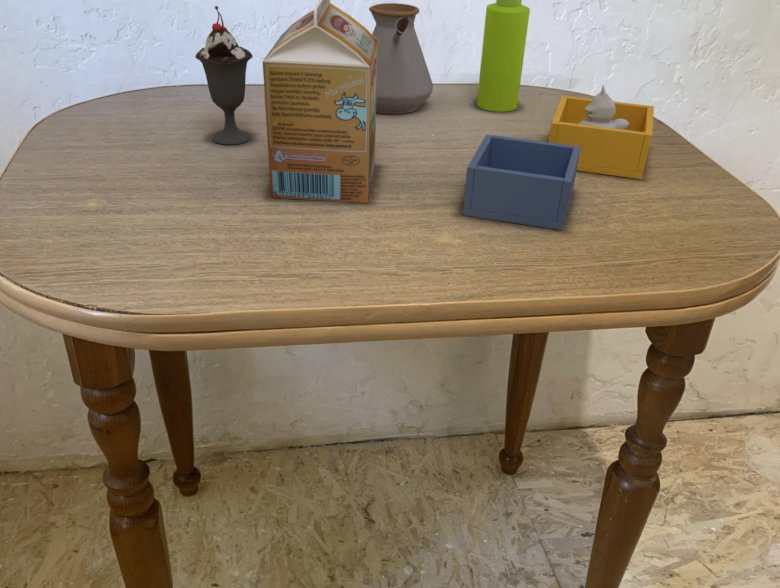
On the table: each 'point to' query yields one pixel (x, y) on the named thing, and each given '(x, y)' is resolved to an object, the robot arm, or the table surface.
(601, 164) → the mustard bin
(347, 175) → the milk carton
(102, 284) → the table surface
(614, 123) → the grey rounded piece
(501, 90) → the soap dispenser
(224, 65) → the sundae
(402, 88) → the coffee pot
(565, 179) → the slate bin
